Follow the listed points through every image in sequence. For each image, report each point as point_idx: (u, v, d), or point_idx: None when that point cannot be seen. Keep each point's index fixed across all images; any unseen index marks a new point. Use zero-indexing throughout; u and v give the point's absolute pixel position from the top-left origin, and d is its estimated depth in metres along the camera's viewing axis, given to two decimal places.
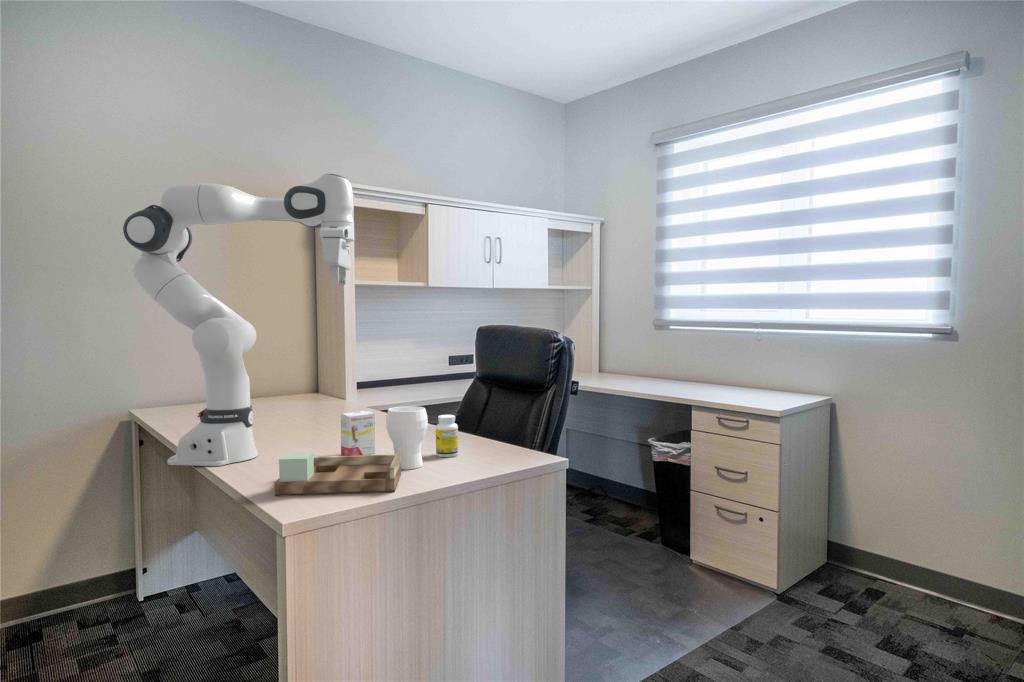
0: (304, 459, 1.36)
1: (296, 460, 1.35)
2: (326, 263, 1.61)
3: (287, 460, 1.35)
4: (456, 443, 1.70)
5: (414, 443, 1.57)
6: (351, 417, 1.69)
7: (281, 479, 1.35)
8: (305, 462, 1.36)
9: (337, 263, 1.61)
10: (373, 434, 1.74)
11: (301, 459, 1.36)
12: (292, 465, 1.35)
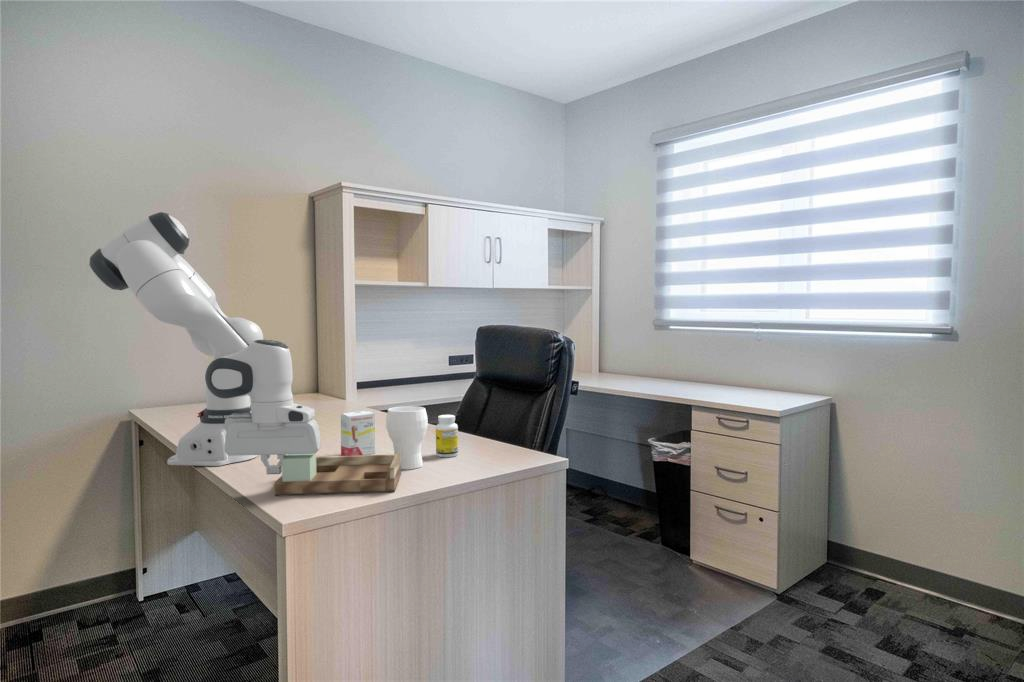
0: (307, 459, 1.36)
1: (299, 460, 1.35)
2: (316, 451, 1.37)
3: (290, 460, 1.35)
4: (456, 443, 1.70)
5: (414, 443, 1.57)
6: (351, 417, 1.69)
7: (284, 479, 1.35)
8: (308, 462, 1.36)
9: None
10: (373, 434, 1.74)
11: (304, 459, 1.36)
12: (295, 465, 1.35)
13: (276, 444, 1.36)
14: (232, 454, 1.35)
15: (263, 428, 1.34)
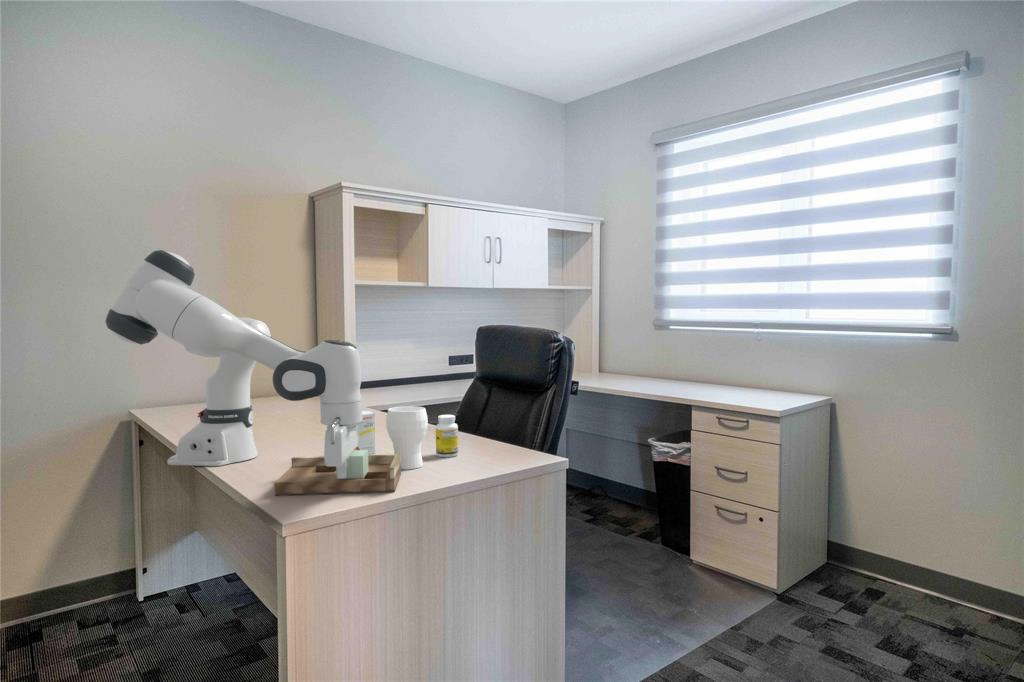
0: (360, 456, 1.38)
1: (352, 457, 1.37)
2: None
3: None
4: (456, 443, 1.70)
5: (414, 443, 1.57)
6: None
7: None
8: (361, 459, 1.38)
9: None
10: (373, 434, 1.74)
11: (357, 456, 1.38)
12: None
13: (351, 444, 1.36)
14: (343, 463, 1.27)
15: (354, 428, 1.34)
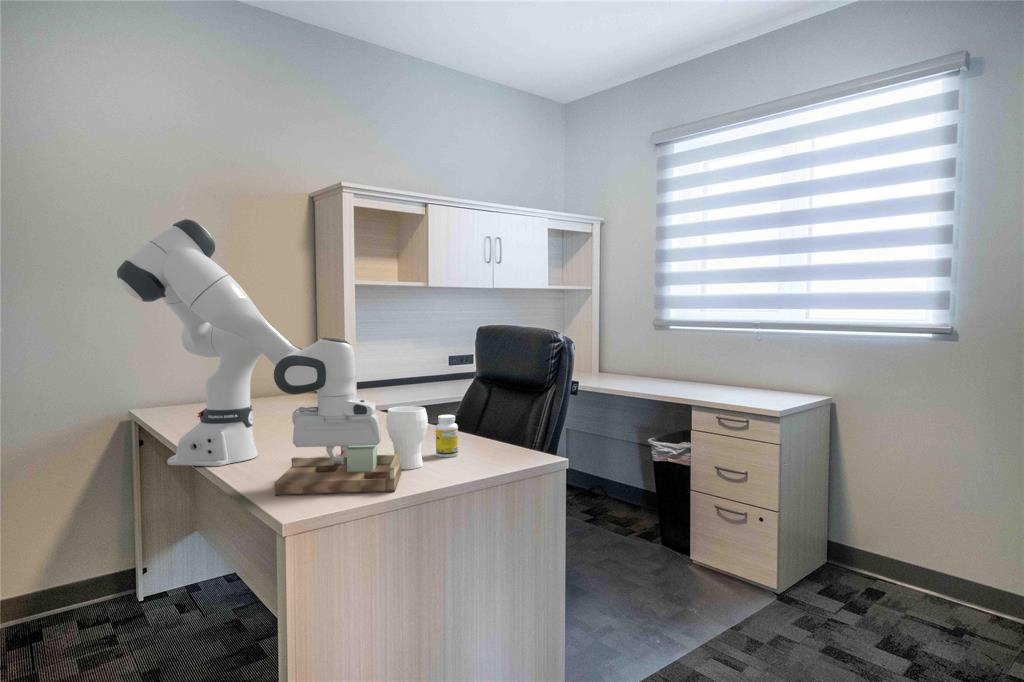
0: (370, 450, 1.44)
1: (363, 451, 1.43)
2: (378, 443, 1.45)
3: (354, 451, 1.43)
4: (456, 443, 1.70)
5: (414, 443, 1.57)
6: None
7: (349, 469, 1.43)
8: (371, 453, 1.44)
9: None
10: None
11: (367, 450, 1.44)
12: (359, 456, 1.43)
13: (341, 436, 1.44)
14: (300, 445, 1.43)
15: (329, 421, 1.42)
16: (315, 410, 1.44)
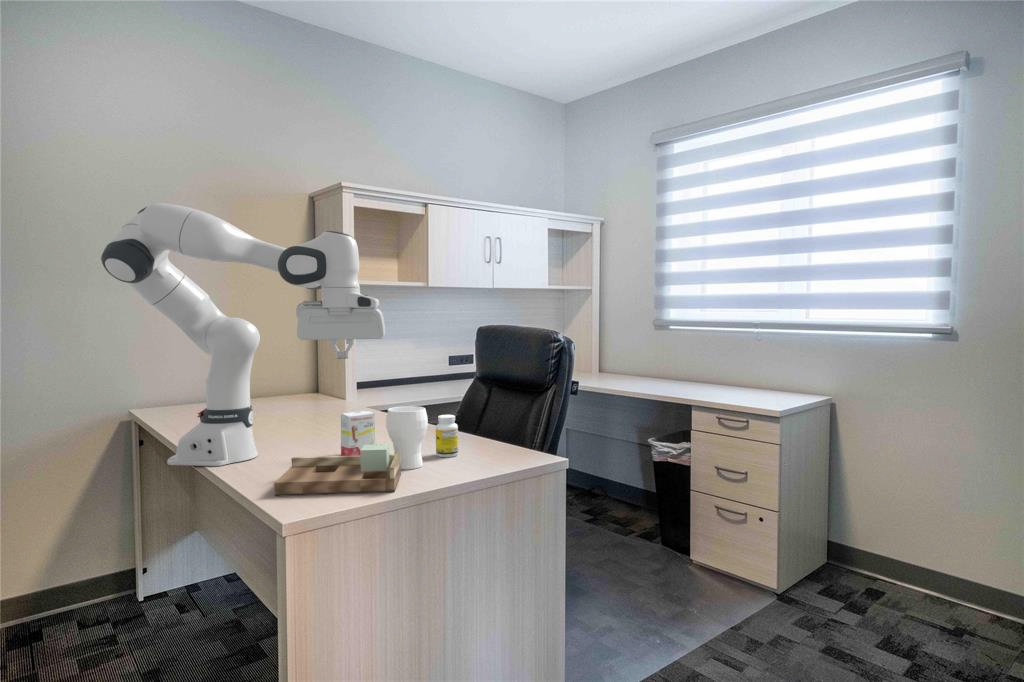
0: (384, 450, 1.44)
1: (376, 451, 1.44)
2: (382, 337, 1.46)
3: (368, 451, 1.43)
4: (456, 443, 1.70)
5: (414, 443, 1.57)
6: (351, 417, 1.69)
7: (362, 469, 1.44)
8: (385, 453, 1.44)
9: None
10: (373, 434, 1.74)
11: (381, 450, 1.44)
12: (372, 456, 1.44)
13: (345, 329, 1.45)
14: (304, 338, 1.44)
15: (333, 313, 1.43)
16: (319, 304, 1.45)
